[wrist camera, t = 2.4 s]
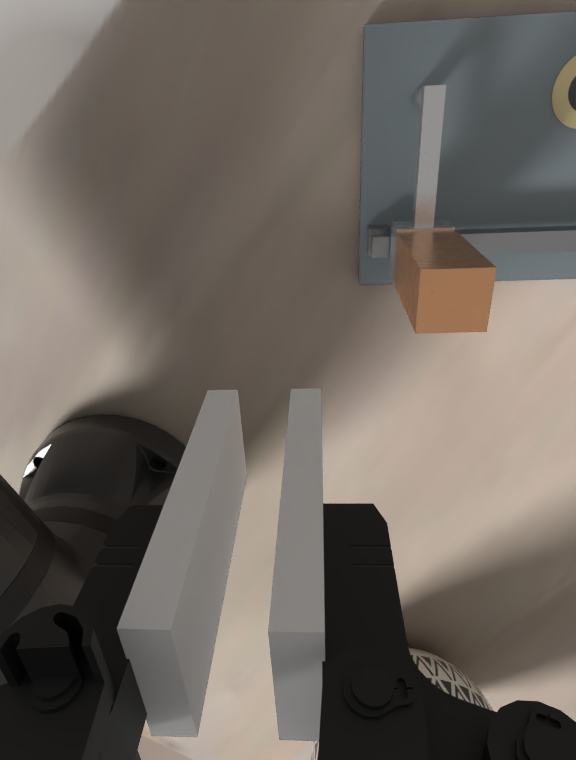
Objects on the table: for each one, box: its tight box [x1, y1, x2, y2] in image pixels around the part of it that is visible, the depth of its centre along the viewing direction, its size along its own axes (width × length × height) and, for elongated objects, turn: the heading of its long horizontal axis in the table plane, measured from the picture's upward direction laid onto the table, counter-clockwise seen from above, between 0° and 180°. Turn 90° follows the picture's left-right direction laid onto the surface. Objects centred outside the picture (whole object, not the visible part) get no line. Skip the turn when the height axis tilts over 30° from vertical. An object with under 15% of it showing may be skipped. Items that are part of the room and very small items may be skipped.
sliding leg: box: [389, 85, 497, 333], centre depth 24 cm, size 3×10×11 cm, turn 3°
